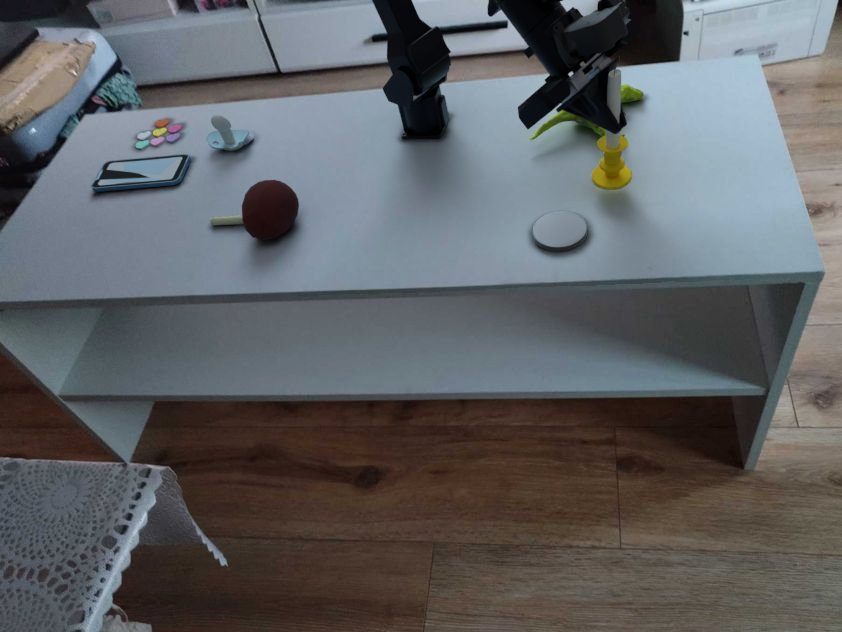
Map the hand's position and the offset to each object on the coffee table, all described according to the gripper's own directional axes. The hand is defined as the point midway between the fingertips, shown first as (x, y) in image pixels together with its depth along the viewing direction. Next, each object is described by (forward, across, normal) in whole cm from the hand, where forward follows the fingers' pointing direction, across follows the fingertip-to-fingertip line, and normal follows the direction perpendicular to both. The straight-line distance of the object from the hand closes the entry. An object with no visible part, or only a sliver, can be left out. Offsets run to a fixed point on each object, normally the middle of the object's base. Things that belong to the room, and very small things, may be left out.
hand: (621, 129), depth 86 cm
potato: (-22, -29, +36) cm, 51 cm away
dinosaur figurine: (-1, +12, +16) cm, 20 cm away
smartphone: (-41, -32, +57) cm, 77 cm away
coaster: (+6, -10, +9) cm, 15 cm away
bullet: (-26, -34, +41) cm, 59 cm away
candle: (+5, 0, +7) cm, 8 cm away
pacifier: (-36, -19, +52) cm, 65 cm away
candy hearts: (-46, -23, +63) cm, 82 cm away
